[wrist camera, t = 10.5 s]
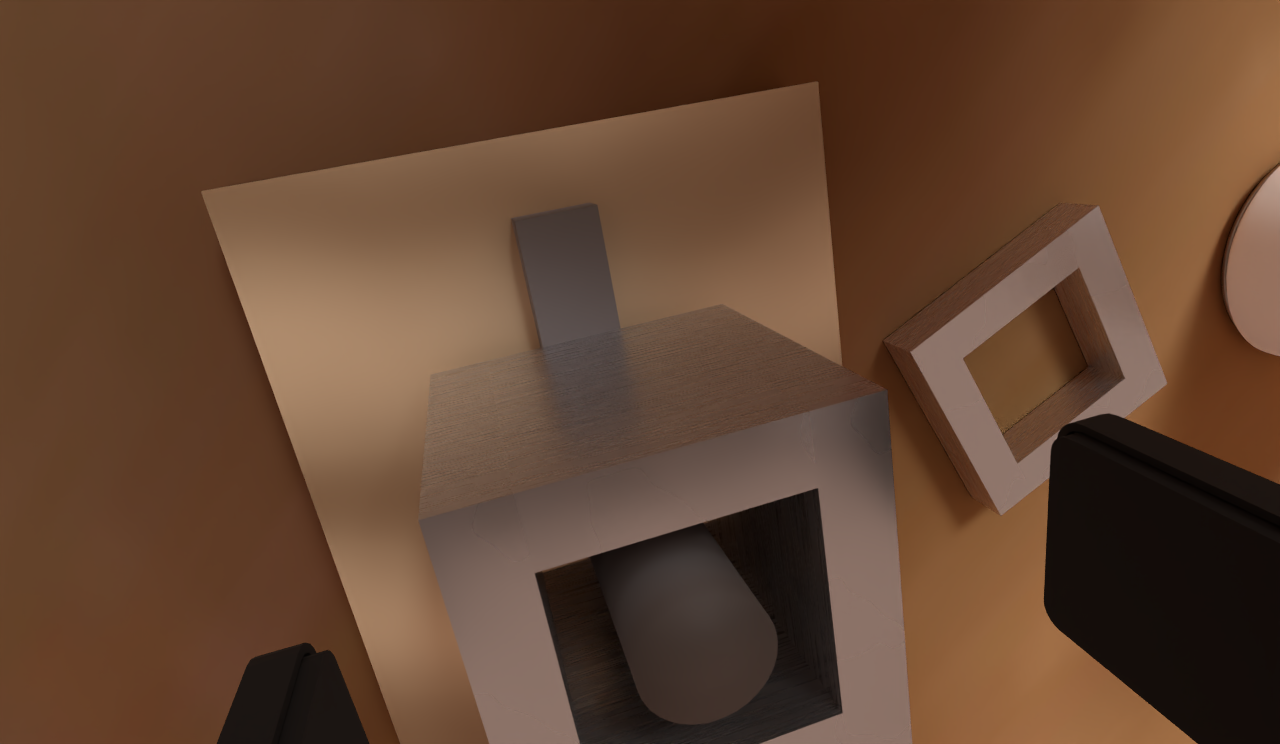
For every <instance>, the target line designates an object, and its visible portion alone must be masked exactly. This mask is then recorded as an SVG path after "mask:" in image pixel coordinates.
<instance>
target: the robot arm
mask: <svg viewBox="0 0 1280 744" xmlns="http://www.w3.org/2000/svg"><path fill="white" fill-rule="evenodd" d="M1044 606H1045V609H1046V612H1047V614H1048V616H1049V618H1050V620H1051V621H1052V622H1053V624H1054V625H1055V626H1056V627H1057V628H1058V629H1059V630H1060V631H1061V632H1062V633H1064V634H1065V635H1066V636H1067V637H1069V638H1070V639H1071V640H1072V641H1073V642H1075V643H1076V644H1077V645H1078V646H1080V647H1081V648H1082V649H1083V650H1084V651H1086V652H1087V653H1088V654H1089V655H1090V656H1092V657H1093V658H1094V659H1095V660H1097V661H1098V662H1099V663H1100V664H1101V665H1103V666H1104V667H1105V668H1106V669H1108V670H1109V671H1110V672H1111V673H1112V674H1114V675H1115V676H1116V677H1117V678H1119V679H1120V680H1121V681H1122V682H1123V683H1125V684H1126V685H1127V686H1128V687H1129V688H1131V689H1132V690H1133V691H1134V692H1136V693H1137V694H1138V695H1139V696H1140V697H1142V698H1143V699H1144V700H1145V701H1147V702H1148V703H1149V704H1150V705H1151V706H1153V707H1154V708H1155V709H1156V710H1157V711H1159V712H1160V713H1161V714H1162V715H1164V716H1165V717H1166V718H1167V719H1168V720H1170V721H1171V722H1172V723H1173V724H1175V725H1176V726H1177V727H1178V728H1179V729H1181V730H1182V731H1183V732H1184V733H1186V734H1187V735H1188V736H1189V737H1190V738H1192V739H1193V740H1194V741H1195V742H1196V743H1198V744H1280V485H1279V484H1277V483H1275V482H1272V481H1270V480H1268V479H1265V478H1263V477H1261V476H1258V475H1256V474H1253V473H1251V472H1249V471H1246V470H1244V469H1242V468H1239V467H1237V466H1235V465H1232V464H1230V463H1228V462H1225V461H1223V460H1221V459H1218V458H1216V457H1214V456H1211V455H1209V454H1207V453H1204V452H1202V451H1200V450H1197V449H1195V448H1193V447H1190V446H1188V445H1185V444H1183V443H1181V442H1178V441H1176V440H1174V439H1171V438H1169V437H1167V436H1164V435H1162V434H1160V433H1157V432H1155V431H1153V430H1150V429H1148V428H1146V427H1143V426H1141V425H1139V424H1136V423H1134V422H1132V421H1129V420H1127V419H1125V418H1122V417H1120V416H1117V415H1114V414H1110V413H1107V414H1100V415H1096V416H1093V417H1090V418H1086V419H1083V420H1079V421H1076V422H1072V423H1069V424H1067V425H1065V426H1063V427H1062V428H1061V430H1060V431H1059V433H1058V437H1057V439H1056V440H1055V441H1054V442H1053V444H1052V447H1051V455H1050V476H1049V498H1048V520H1047V542H1046V564H1045V586H1044ZM217 744H369V742H368V739H367V737H366V734H365V731H364V729H363V726H362V724H361V721H360V719H359V716H358V714H357V711H356V709H355V706H354V704H353V701H352V699H351V696H350V694H349V691H348V689H347V686H346V684H345V681H344V679H343V676H342V674H341V671H340V669H339V666H338V664H337V661H336V659H335V657H334V655H333V654H332V652H331V651H328V650H326V651H323V652H319V653H316V651H315V649H314V648H313V647H312V646H311V644H309V643H302V644H299V645H295V646H292V647H288V648H285V649H282V650H278V651H275V652H271V653H268V654H264V655H261V656H257V657H254V658H253V659H251V660H250V662H249V663H248V665H247V667H246V669H245V672H244V675H243V677H242V680H241V682H240V685H239V687H238V690H237V693H236V695H235V698H234V700H233V703H232V706H231V708H230V711H229V713H228V716H227V719H226V721H225V724H224V726H223V729H222V732H221V734H220V737H219V739H218V742H217Z"/></svg>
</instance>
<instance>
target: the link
mask: <svg viewBox="0 0 1280 744" xmlns="http://www.w3.org/2000/svg"><path fill="white" fill-rule="evenodd" d="M418 521H419V525H420V528H421V531H422V534H423V537H424V540H425V543H426V547H427V550H428V553H429V556H430V559H431V562H432V565H433V568H434V572H435V575H436V578H437V581H438V584H439V587H440V590H441V594H442V597H443V600H444V603H445V606H446V609H447V612H448V616H449V619H450V622H451V625H452V628H453V631H454V634H455V638H456V641H457V644H458V647H459V650H460V653H461V656H462V660H463V663H464V666H465V669H466V672H467V675H468V678H469V682H470V685H471V688H472V691H473V694H474V697H475V700H476V704H477V707H478V710H479V713H480V716H481V719H482V722H483V726H484V729H485V732H486V735H487V738H488V741H489V744H912V733H911V719H910V705H909V690H908V676H907V662H906V648H905V634H904V620H903V606H902V592H901V578H900V563H899V549H898V535H897V521H896V507H895V493H894V479H893V465H892V450H891V436H890V422H889V408H888V394H887V389H885V388H883V387H881V386H879V385H877V384H875V383H873V382H871V381H870V380H868V379H866V378H864V377H862V376H860V375H858V374H856V373H854V372H852V371H850V370H848V369H846V368H845V367H843V366H841V365H839V364H837V363H835V362H833V361H831V360H829V359H827V358H825V357H823V356H821V355H819V354H818V353H816V352H814V351H812V350H810V349H808V348H806V347H804V346H802V345H800V344H798V343H796V342H794V341H793V340H791V339H789V338H787V337H785V336H783V335H781V334H779V333H777V332H775V331H773V330H771V329H769V328H768V327H766V326H764V325H762V324H760V323H758V322H756V321H754V320H752V319H750V318H748V317H746V316H744V315H743V314H741V313H739V312H737V311H735V310H733V309H731V308H729V307H727V306H725V305H723V304H720V305H716V306H711V307H707V308H703V309H699V310H695V311H691V312H687V313H683V314H678V315H674V316H670V317H666V318H662V319H658V320H654V321H650V322H645V323H641V324H637V325H633V326H629V327H625V328H621V329H617V330H612V331H608V332H604V333H600V334H596V335H592V336H588V337H584V338H579V339H575V340H571V341H567V342H563V343H559V344H555V345H551V346H546V347H542V348H538V349H534V350H530V351H526V352H522V353H518V354H513V355H509V356H505V357H501V358H497V359H493V360H489V361H485V362H480V363H476V364H472V365H468V366H464V367H460V368H456V369H452V370H447V371H443V372H439V373H435V374H431V375H430V387H429V398H428V410H427V422H426V434H425V446H424V457H423V469H422V481H421V493H420V505H419V516H418ZM706 521H707V523H706V524H704V525H705V526H706V528H707V529H708V530H709V532H710V533H711V535H712V536H713V537H714V539H715V540H716V542H717V543H718V545H719V546H720V547H721V549H722V550H723V552H724V553H725V554H726V556H727V557H728V559H729V560H730V562H731V563H732V564H733V566H734V567H735V569H736V570H737V572H738V573H739V574H740V576H741V577H742V579H743V580H744V581H745V583H746V584H747V586H748V587H749V589H750V590H751V591H752V593H753V594H754V596H755V597H756V598H757V600H758V601H759V603H760V604H761V606H762V607H763V608H764V610H765V611H766V613H767V614H768V615H769V617H770V619H771V620H772V622H773V624H774V627H775V629H776V633H777V638H778V651H777V658H776V662H775V665H774V668H773V671H772V673H771V675H770V677H769V679H768V680H767V682H766V683H765V685H764V686H763V688H762V689H761V690H760V691H759V693H758V694H757V695H756V696H755V697H754V698H753V699H752V700H751V701H750V702H748V703H747V704H746V705H745V706H743V707H742V708H740V709H739V710H737V711H736V712H734V713H732V714H730V715H729V716H726V717H724V718H722V719H719V720H716V721H713V722H709V723H704V724H695V725H687V724H678V723H673V722H670V721H667V720H665V719H663V718H661V717H659V716H657V715H656V714H654V713H653V712H652V711H651V710H650V709H649V708H648V707H647V706H646V705H645V704H644V702H643V701H642V699H641V697H640V695H639V693H638V691H637V688H636V685H635V682H634V680H633V677H632V674H631V671H630V668H629V666H628V663H627V660H626V657H625V654H624V652H623V649H622V646H621V643H620V640H619V638H618V635H617V632H616V629H615V626H614V624H613V621H612V618H611V615H610V612H609V610H608V607H607V604H606V601H605V598H604V596H603V593H602V590H601V587H600V584H599V582H598V579H597V576H596V573H595V570H594V568H593V565H592V562H591V559H587V560H583V561H580V562H577V563H573V564H570V565H567V566H563V567H560V568H557V569H553V570H550V571H547V572H542V571H543V570H547V569H550V568H553V567H557V566H560V565H563V564H567V563H570V562H573V561H577V560H580V559H583V558H586V557H590V556H593V555H596V554H600V553H603V552H606V551H610V550H613V549H616V548H620V547H623V546H626V545H630V544H633V543H636V542H640V541H643V540H646V539H650V538H653V537H656V536H660V535H663V534H666V533H670V532H673V531H676V530H680V529H683V528H686V527H690V526H693V525H696V524H699V523H703V522H706Z"/></svg>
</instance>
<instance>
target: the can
mask: <svg viewBox="0 0 1280 744" xmlns="http://www.w3.org/2000/svg"><path fill="white" fill-rule="evenodd" d="M1221 281H1222V293H1223V299H1224V303H1225V306H1226V309H1227V312H1228V314H1229V316H1230V318H1231V320H1232V321H1233V323H1234V324H1235V326H1236V327H1237V329H1238V331H1239V332H1240V333H1241V335H1242V336H1243V337H1244V338H1245V340H1246V341H1247V342H1249V343H1250V344H1251V345H1252V346H1254V347H1255V348H1257V349H1259V350H1261V351H1263V352H1266V353H1269V354H1273V355H1276V356H1280V164H1279V165H1278V166H1276V167H1275V168H1274V169H1273V170H1272V171H1270V172H1269V173H1268V174H1267V175H1266V176H1265V177H1264V178H1263V179H1262V180H1261V182H1260V183H1259V184H1258V185H1257V186H1256V188H1255V189H1254V190H1253V191H1252V193H1251V194H1250V196H1249V197H1248V198H1247V200H1246V202H1245V203H1244V205H1243V206H1242V208H1241V210H1240V212H1239V214H1238V216H1237V218H1236V220H1235V222H1234V224H1233V227H1232V229H1231V232H1230V235H1229V237H1228V241H1227V244H1226V248H1225V252H1224V257H1223V264H1222V278H1221Z"/></svg>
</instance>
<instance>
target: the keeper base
mask: <svg viewBox="0 0 1280 744" xmlns="http://www.w3.org/2000/svg"><path fill="white" fill-rule="evenodd" d="M201 193H202V196H203V199H204V201H205V204H206V207H207V210H208V213H209V215H210V218H211V221H212V224H213V226H214V229H215V232H216V235H217V237H218V240H219V243H220V246H221V249H222V251H223V254H224V257H225V260H226V262H227V265H228V268H229V271H230V273H231V276H232V279H233V282H234V285H235V287H236V290H237V293H238V296H239V298H240V301H241V304H242V307H243V310H244V312H245V315H246V318H247V321H248V323H249V326H250V329H251V332H252V334H253V337H254V340H255V343H256V346H257V348H258V351H259V354H260V357H261V359H262V362H263V365H264V368H265V371H266V373H267V376H268V379H269V382H270V384H271V387H272V390H273V393H274V395H275V398H276V401H277V404H278V407H279V409H280V412H281V415H282V418H283V420H284V423H285V426H286V429H287V431H288V434H289V437H290V440H291V443H292V445H293V448H294V451H295V454H296V456H297V459H298V462H299V465H300V468H301V470H302V473H303V476H304V479H305V481H306V484H307V487H308V490H309V492H310V495H311V498H312V501H313V504H314V506H315V509H316V512H317V515H318V517H319V520H320V523H321V526H322V529H323V531H324V534H325V537H326V540H327V542H328V545H329V548H330V551H331V553H332V556H333V559H334V562H335V565H336V567H337V570H338V573H339V576H340V578H341V581H342V584H343V587H344V589H345V592H346V595H347V598H348V601H349V603H350V606H351V609H352V612H353V614H354V617H355V620H356V623H357V626H358V628H359V631H360V634H361V637H362V639H363V642H364V645H365V648H366V650H367V653H368V656H369V659H370V662H371V664H372V667H373V670H374V673H375V675H376V678H377V681H378V684H379V687H380V689H381V692H382V695H383V698H384V700H385V703H386V706H387V709H388V711H389V714H390V717H391V720H392V723H393V725H394V728H395V731H396V734H397V736H398V739H399V742H400V744H489V741H488V738H487V735H486V732H485V729H484V726H483V722H482V719H481V716H480V713H479V710H478V707H477V704H476V700H475V697H474V694H473V691H472V688H471V685H470V682H469V678H468V675H467V672H466V669H465V666H464V663H463V660H462V656H461V653H460V650H459V647H458V644H457V641H456V638H455V634H454V631H453V628H452V625H451V622H450V619H449V616H448V612H447V609H446V606H445V603H444V600H443V597H442V594H441V590H440V587H439V584H438V581H437V578H436V575H435V572H434V568H433V565H432V562H431V559H430V556H429V553H428V550H427V547H426V543H425V540H424V537H423V534H422V531H421V528H420V525H419V521H418V516H419V505H420V493H421V481H422V469H423V457H424V446H425V434H426V422H427V410H428V398H429V387H430V375H431V374H435V373H439V372H443V371H447V370H452V369H456V368H460V367H464V366H468V365H472V364H476V363H480V362H485V361H489V360H493V359H497V358H501V357H505V356H509V355H513V354H518V353H522V352H526V351H530V350H534V349H538V348H542V347H546V346H551V345H555V344H559V343H563V342H567V341H571V340H575V339H579V338H584V337H588V336H592V335H596V334H600V333H604V332H608V331H612V330H617V329H621V328H625V327H629V326H633V325H637V324H641V323H645V322H650V321H654V320H658V319H662V318H666V317H670V316H674V315H678V314H683V313H687V312H691V311H695V310H699V309H703V308H707V307H711V306H716V305H720V304H723V305H725V306H727V307H729V308H731V309H733V310H735V311H737V312H739V313H741V314H743V315H744V316H746V317H748V318H750V319H752V320H754V321H756V322H758V323H760V324H762V325H764V326H766V327H768V328H769V329H771V330H773V331H775V332H777V333H779V334H781V335H783V336H785V337H787V338H789V339H791V340H793V341H794V342H796V343H798V344H800V345H802V346H804V347H806V348H808V349H810V350H812V351H814V352H816V353H818V354H819V355H821V356H823V357H825V358H827V359H829V360H831V361H833V362H835V363H837V364H839V365H841V366H842V357H841V345H840V333H839V321H838V310H837V298H836V286H835V274H834V263H833V251H832V239H831V227H830V216H829V204H828V192H827V180H826V168H825V157H824V145H823V133H822V121H821V110H820V98H819V86H818V81H816V82H811V83H805V84H800V85H794V86H788V87H783V88H777V89H772V90H766V91H760V92H755V93H749V94H743V95H738V96H732V97H727V98H721V99H715V100H710V101H704V102H699V103H693V104H687V105H682V106H676V107H670V108H665V109H659V110H654V111H648V112H642V113H637V114H631V115H626V116H620V117H614V118H609V119H603V120H597V121H592V122H586V123H581V124H575V125H569V126H564V127H558V128H553V129H547V130H541V131H536V132H530V133H525V134H519V135H513V136H508V137H502V138H496V139H491V140H485V141H480V142H474V143H468V144H463V145H457V146H452V147H446V148H440V149H435V150H429V151H423V152H418V153H412V154H407V155H401V156H395V157H390V158H384V159H379V160H373V161H367V162H362V163H356V164H351V165H345V166H339V167H334V168H328V169H322V170H317V171H311V172H306V173H300V174H294V175H289V176H283V177H278V178H272V179H266V180H261V181H255V182H249V183H244V184H238V185H233V186H227V187H221V188H216V189H210V190H205V191H201ZM706 523H707V521H706V522H703V523H699V524H696V525H693V526H690V527H686V528H683V529H680V530H676V531H673V532H670V533H666V534H663V535H660V536H656V537H653V538H650V539H646V540H643V541H640V542H636V543H633V544H630V545H626V546H623V547H620V548H616V549H613V550H610V551H606V552H603V553H600V554H596V555H593V556H590V557H586V558H583V559H580V560H577V561H573V562H570V563H567V564H563V565H560V566H557V567H553V568H550V569H547V570H543V571H542V572H547V571H550V570H553V569H557V568H560V567H563V566H567V565H570V564H573V563H577V562H580V561H583V560H587V559H591V562H592V565H593V568H594V570H595V573H596V576H597V579H598V582H599V584H600V587H601V590H602V593H603V596H604V598H605V601H606V604H607V607H608V610H609V612H610V615H611V618H612V621H613V624H614V626H615V629H616V632H617V635H618V638H619V640H620V643H621V646H622V649H623V652H624V654H625V657H626V660H627V663H628V666H629V668H630V671H631V674H632V677H633V680H634V682H635V685H636V688H637V691H638V693H639V695H640V697H641V699H642V701H643V702H644V704H645V705H646V706H647V707H648V708H649V709H650V710H651V711H652V712H653V713H654V714H656V715H657V716H659V717H661V718H663V719H665V720H667V721H670V722H673V723H678V724H687V725H695V724H704V723H709V722H713V721H716V720H719V719H722V718H724V717H726V716H729V715H730V714H732V713H734V712H736V711H737V710H739V709H740V708H742V707H743V706H745V705H746V704H747V703H748V702H750V701H751V700H752V699H753V698H754V697H755V696H756V695H757V694H758V693H759V691H760V690H761V689H762V688H763V686H764V685H765V683H766V682H767V680H768V679H769V677H770V675H771V673H772V671H773V668H774V665H775V662H776V658H777V651H778V638H777V633H776V629H775V627H774V624H773V622H772V620H771V619H770V617H769V615H768V614H767V613H766V611H765V610H764V608H763V607H762V606H761V604H760V603H759V601H758V600H757V598H756V597H755V596H754V594H753V593H752V591H751V590H750V589H749V587H748V586H747V584H746V583H745V581H744V580H743V579H742V577H741V576H740V574H739V573H738V572H737V570H736V569H735V567H734V566H733V564H732V563H731V562H730V560H729V559H728V557H727V556H726V554H725V553H724V552H723V550H722V549H721V547H720V546H719V545H718V543H717V542H716V540H715V539H714V537H713V536H712V535H711V533H710V532H709V530H708V529H707V528H706V526H705V525H704V524H706Z"/></svg>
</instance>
